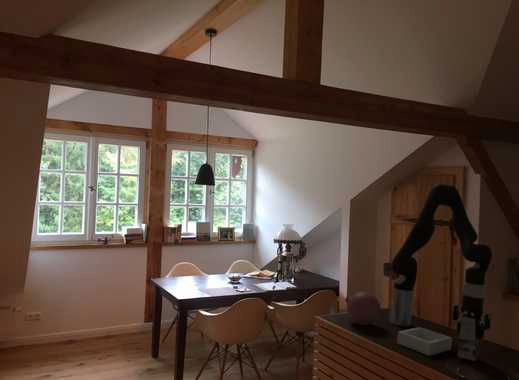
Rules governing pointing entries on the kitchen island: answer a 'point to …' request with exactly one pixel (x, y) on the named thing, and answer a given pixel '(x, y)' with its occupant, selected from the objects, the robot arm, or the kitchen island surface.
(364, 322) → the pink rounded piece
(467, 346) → the coffee box
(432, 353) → the carton dock
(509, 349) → the kitchen island surface
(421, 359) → the kitchen island surface
